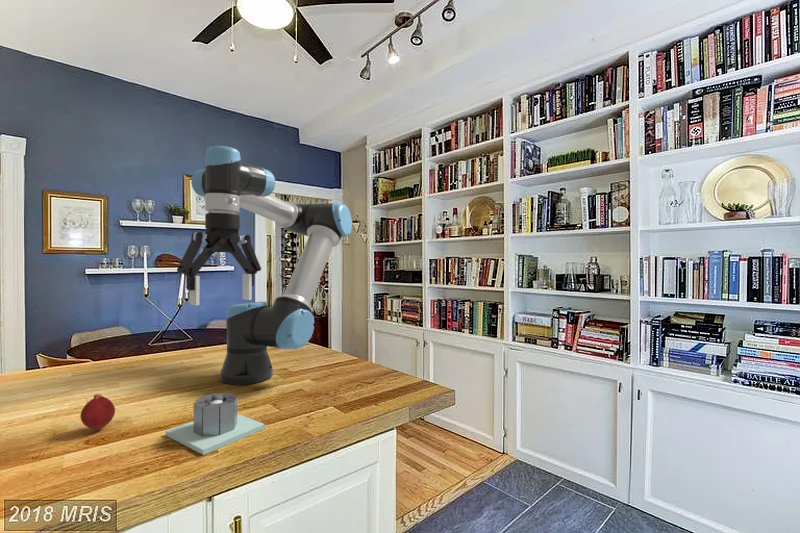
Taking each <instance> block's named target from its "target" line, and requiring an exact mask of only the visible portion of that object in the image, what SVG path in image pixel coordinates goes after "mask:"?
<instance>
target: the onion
mask: <svg viewBox="0 0 800 533" xmlns="http://www.w3.org/2000/svg"><path fill="white" fill-rule="evenodd" d="M115 413H116V408H115V405H114V403H113V402H112V401H111V400H110V399H109V398H108V397H105V396H102V394H100V393H96V394H94V395H93V398H92V399H90V400H89V401H88V402H86V403H85V405H84V406H83V408H82V410H81V412H80V416H79V418H80V420H81V422H82V424H83V425H84V426H86V427H87V428H89V429H92V430H94V431H95V432H98V431H99V432H100V431H101V430H102V429H103V428H105V427H106V426H107V425H109V424H110V422H111V421H112V420H113V419H114V416H115Z"/></svg>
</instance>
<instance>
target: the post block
mask: <svg viewBox="0 0 800 533" xmlns="http://www.w3.org/2000/svg"><path fill="white" fill-rule="evenodd" d="M222 402H223V401H222V400H215V401H212V402H210V404H219V403H222ZM265 425H266V424H265V423H262V422H260V421H257V420H255V419H253V418H249V417H247V416H244V415H242V414H240V413H237V425H236V427H235V429H234V430H232V431H230V432H227V433H225V434H222V435H219V436H206V437H203V436H200V435H198V434H196V433H194V420H193V421H190V422H186V423H183V424H182V425H179V426H175V427H172V428H169V429H166V430H165V436H166V437H169V438H170V439H171V440H174V441H175V442H178V443H180V444H181V445H184V446H185V447H187V448H189V449H191V450H193V451H195V452H196V453H199V454H200V455H203V456H206V455H207V454H209V453H211V452H214V451H216V450H219V449H220V448H223V447H225V446H228V445H230V444H232V443H235V442H236V441H239V440H242V439H244V438H246V437H248V436H250V435H253V434H255V433H258V432H260V431H262V430H264V429H265Z"/></svg>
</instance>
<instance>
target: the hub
mask: <svg viewBox="0 0 800 533" xmlns="http://www.w3.org/2000/svg"><path fill="white" fill-rule="evenodd" d="M215 400H222V401H223V402H222V403H219V404H210V402H212V401H215ZM237 414H238V395H235V394H232V393H229V392H225V393H223V392H222V393H211V394H207V395H205V396H202V397H198V398H197V399H196V400H195V402H194V403H193V421H194V433H196V434H198V435H200V436H203V437H206V436H219V435H222V434H225V433H227V432H230V431H232V430H234V429H235V427H236V425H237Z"/></svg>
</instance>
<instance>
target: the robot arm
mask: <svg viewBox="0 0 800 533" xmlns="http://www.w3.org/2000/svg"><path fill="white" fill-rule="evenodd" d="M241 160H242V158H241V153H240V151H239V150H238V149H236V148H234V147H230V146H225V145H214V146H213V145H212V146H208V147H207V148H206V152H205V163H204V168H203V169H199V170H196V171H195V172H194V173H193V174H192V176H191V181H190V182H191V187H192V189H193V191H194V193H196V195H198V196H200V197H203V198H205V199H204V200H205V201H204V204H205V205H204V207H205V208H204V211H205V212H206V214H205V215H204V217H205V218H204V219H205V220H204V225H205V226H204V227H205V233H203V232H202V231H194V232H192V233H191V237H190V238H191V240H190V242H189V245H188V247H187V249H186V250H185V253H184V254H183V256H182V258H181V261H180V262H179V265H178V267H177V269H176V272H177V273H179V274H182V275H184V276H185V286H186V287H185V288H186V291H189V305H192V306H200V295H201V294H200V293H201V292H200V288H201V287H200V284H201V283H200V282H201V279H200V278H201V276H200V275H197V274H198V273H199V271H201V269H202V267H203V266H204V265H205V264H206V262H208V261H209V259H210V258H211V257H212V256H213V255H214V254H215V253H229V254H231V256H233V258H234V259H235V261H236V262H237V263H238V265H240V267H241V268H242V270H243V271H244V272H245V273H242V284H241V285H242V290H241V291H242V300H246V301H250V300H251V301H252V296H253V293H252V288H253V287H254V284H255V275H256V274H257V273H258V272H261V270H262V267H261V264H260V262H259V260H258V257H257V255H256V253H255V250H254V248H253V244H252V242H251V240H252V239H251V235H250V234H241V235H239V234H240V233H239V231H240V229H241V227H240V226H241V225H240V224H241V220H240V218H241V216H240V215H238V214H239V213H240V210H241V209H243V210H246V211H248V212H251V213H254V214H255V215H258V216H261V217H263V218H266V220H267V219H268V220H270V221H271V222H275V224H276V225H277V226H278V227H280V228H282V229H285V230H287V231H289V232H292V233H294V234H298V235H301V236H306V237H308V238H307V241H306V243H305V245H304V247H303V250H302V252H301V254H300V257H299V259H298V261H297V263H296V265H295V268H294V270H293V272H292V274H291V277H290V278H289V281H288V283H287V286H286V288H285V289H284V292H283V294H282V295H280V296H277V297H276V298H275V299H274V302H273V303H272V306H270V307H269V304H268V302H267V301H254V302H253V301H252V302H246V303H237V304H233V305H230V306H229V307H228V308H227V313H226V318H225V319H226V320H225V321H226V356H225V359H224V361H223V364H222V367H221V370H220V373H219V376H220V378H219V380H220V382H222V383H225V384H228V385H251V384H257V383H261V382H264V381H266V380H269V379H271V378H272V377H273V374H274V373H273V372H274V369H273V365H272V362H271V359H270V356H269V352H268V348H275V349H281V350H298V349H301V348H302V347H303V348H304V346H305V345H306V344H307V343H309V341H310V340H311V338H312V335H313V334H314V330H315V326H314V324H315V317H314V315H313V314H312V313H313V310H312V307H311V302H312V300H313V298H314V295H315V292H316V290H317V288H318V285H319V282H320V280H321V277H322V275H323V272H324V270H325V267H326V265H327V262H328V260H329V257H330V254H331V253H332V249H333V248H334V247H337V246H338V245H339V244H340V242H341V240H342V237H343V238H347V237H348V236H350V235H351V233H352V229H353V222H352V221H353V220H352V215H351V212H350V209H349V208H348V206H347V205H346V204H344V203H341V202H332V203H295V202H293V201H290V200H285V201H284V200H283V199H281V198H279V197H276V196H274V195H272V193H273V192H274V191H275V187H276V178H275V176H274V174H273V173H272V172H271V171H270V170H267V169H265V168H264V167H262V166H257V165H253V164H249V163H247V162H244V161H241ZM240 208H241V209H240ZM204 241H205V242H206V245H204V247H203V248H202V251H201V252H200V253H199V250H200V249H201V246H202V243H203V242H204ZM239 243H240V246H241V247H242V249H241V247H240V246H239V245H238V244H239ZM242 250H243V251H242ZM198 253H199V254H198ZM197 254H198V256H197ZM196 256H197V257H196Z"/></svg>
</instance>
